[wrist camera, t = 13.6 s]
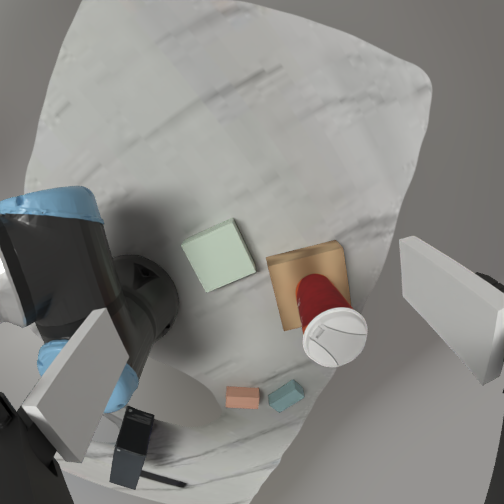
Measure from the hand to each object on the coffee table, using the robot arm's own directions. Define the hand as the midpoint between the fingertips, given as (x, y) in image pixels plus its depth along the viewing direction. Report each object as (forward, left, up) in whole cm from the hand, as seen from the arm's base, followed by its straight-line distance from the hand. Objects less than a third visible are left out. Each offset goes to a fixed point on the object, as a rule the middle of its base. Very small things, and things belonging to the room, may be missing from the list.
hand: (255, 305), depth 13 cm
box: (-37, -44, -35) cm, 67 cm away
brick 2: (-2, -38, -35) cm, 52 cm away
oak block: (+6, -16, -35) cm, 39 cm away
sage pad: (-6, -8, -35) cm, 36 cm away
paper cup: (+6, -16, -31) cm, 35 cm away
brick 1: (-10, -36, -35) cm, 51 cm away
